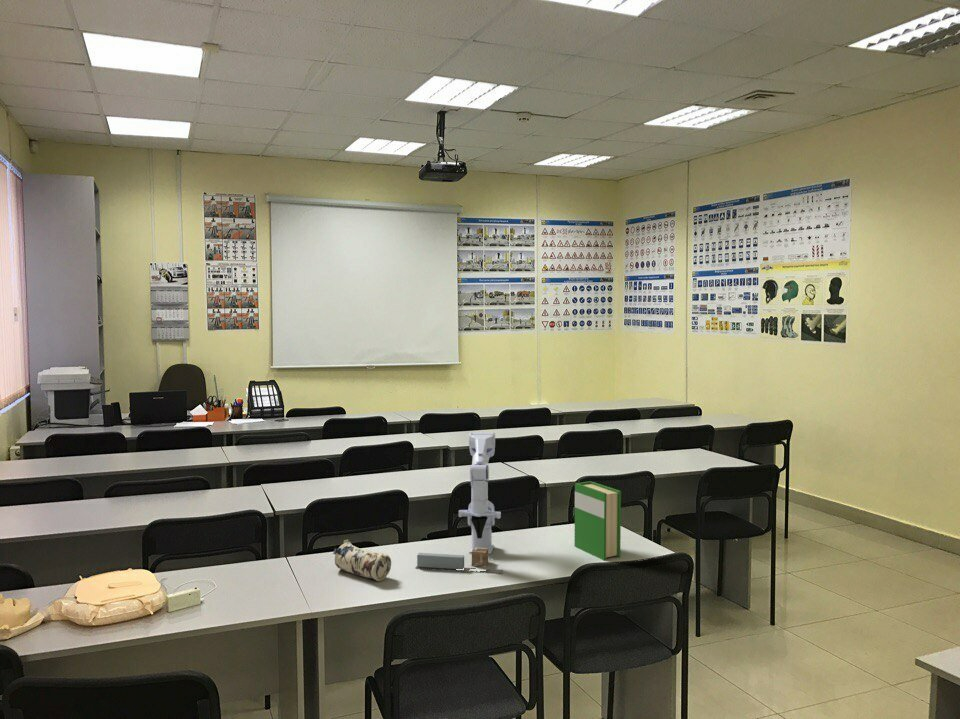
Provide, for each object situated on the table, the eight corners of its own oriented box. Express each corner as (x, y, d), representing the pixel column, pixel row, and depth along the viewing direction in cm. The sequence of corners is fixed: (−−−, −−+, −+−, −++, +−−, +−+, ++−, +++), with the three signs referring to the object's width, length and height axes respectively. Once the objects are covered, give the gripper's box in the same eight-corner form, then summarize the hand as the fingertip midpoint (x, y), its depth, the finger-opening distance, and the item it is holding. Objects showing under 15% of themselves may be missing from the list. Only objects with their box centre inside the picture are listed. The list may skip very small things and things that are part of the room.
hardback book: (620, 557, 258) (620, 491, 257) (603, 560, 255) (604, 493, 253) (590, 543, 274) (590, 481, 272) (574, 546, 270) (574, 483, 269)
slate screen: (419, 564, 250) (419, 552, 250) (464, 566, 247) (464, 555, 247) (417, 566, 247) (417, 555, 247) (462, 569, 245) (462, 557, 244)
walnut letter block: (474, 561, 255) (474, 546, 254) (488, 561, 254) (488, 547, 254) (471, 566, 250) (471, 551, 249) (485, 567, 249) (485, 552, 248)
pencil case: (331, 571, 245) (331, 543, 244) (350, 564, 252) (350, 537, 251) (376, 586, 231) (376, 556, 231) (395, 578, 238) (395, 549, 237)
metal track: (417, 565, 250) (417, 564, 250) (503, 570, 245) (503, 569, 245) (415, 568, 247) (415, 567, 247) (501, 573, 242) (501, 573, 242)
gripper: (456, 501, 247) (456, 539, 248) (498, 502, 245) (498, 542, 246) (460, 496, 254) (461, 533, 255) (501, 497, 252) (501, 536, 253)
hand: (479, 537), depth 251 cm, fingers closed
